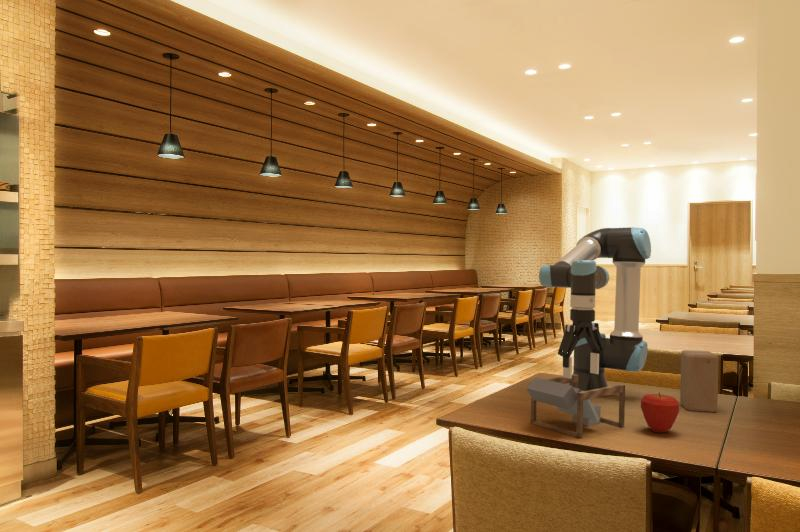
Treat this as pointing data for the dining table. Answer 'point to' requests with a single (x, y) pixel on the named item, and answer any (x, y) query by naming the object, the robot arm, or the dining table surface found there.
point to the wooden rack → (580, 398)
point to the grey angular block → (560, 397)
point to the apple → (659, 411)
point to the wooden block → (699, 381)
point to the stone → (588, 421)
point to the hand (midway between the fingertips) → (581, 375)
